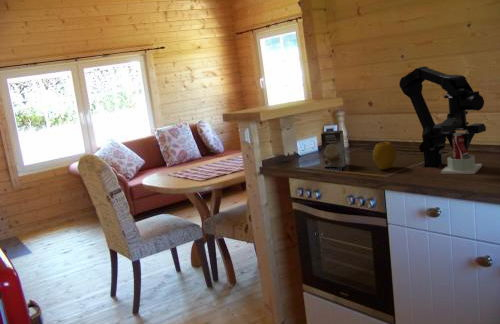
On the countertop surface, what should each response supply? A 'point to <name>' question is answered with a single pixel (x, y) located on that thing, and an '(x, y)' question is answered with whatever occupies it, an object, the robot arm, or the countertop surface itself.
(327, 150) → the coffee box
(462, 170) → the can holder
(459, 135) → the soda can
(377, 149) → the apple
